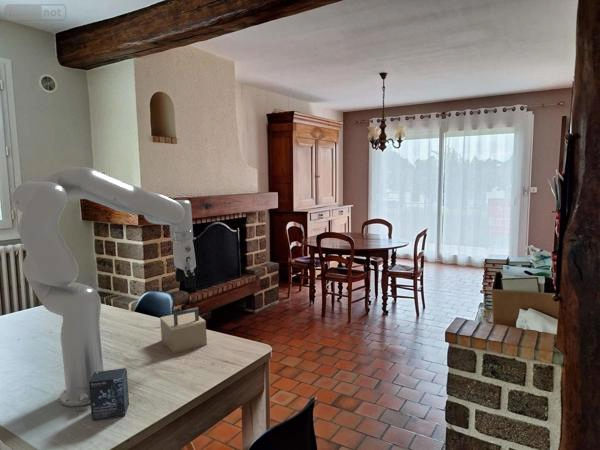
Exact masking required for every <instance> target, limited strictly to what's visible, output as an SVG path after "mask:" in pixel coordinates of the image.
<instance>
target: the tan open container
mask: <svg viewBox="0 0 600 450" xmlns="http://www.w3.org/2000/svg"><path fill="white" fill-rule="evenodd" d="M159 320H160V319H159ZM159 323H160V332H161V333H160V335H161V342H162V343H163V344H165V346H166V347H167V348H168V349H169V351H171V353H172V354H173V355H174V354H179V353H181V352H184V351H189V350H192V349H197V348H199V347H204V346H206V345H208V342H207V340H208V339H207V324H206V323H207V322H206V323H204V324H200V325H195V326H191V327H187V328H183V329H179V330H174V331H172V330H171V329H170V328H169V327H167V326H166V325H165V324H164V323H163V322H162V321H161V320H160V321H159Z"/></svg>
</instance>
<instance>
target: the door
mask: <svg viewBox="0 0 600 450" xmlns="http://www.w3.org/2000/svg"><path fill="white" fill-rule="evenodd" d="M199 312H200V311H199V307H198V306H197V307H193V308H187V309H182V310H179V311H173V313H172V314H169V315H164V316H161V317H160V316H159V317H160V318H159V320H161V321H162V322H163V323H164V324H165V325H166V326H167V327H169V328H170V329H171V330H172V331H174V330H179V329H183V328H187V327H191V326H195V325H200V324H204V323H207V321H206V320H205V319H204V318H202V317H201V316H200V314H199Z"/></svg>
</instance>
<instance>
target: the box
mask: <svg viewBox="0 0 600 450" xmlns="http://www.w3.org/2000/svg"><path fill="white" fill-rule="evenodd" d="M128 383H129V382H128V371H127V368H126V367H125V368H117V369H109V370H108V369H107V370H103V371H96V372H94V374H93V376H92V377H91V379H90V381H89V388H90V401H91V403H90V411H91V421H97V420H106V419H111V418H112V419H113V418H121V417H122V418H123V417H125V416H126V414H127V412H128V408H129V406H130V399H129V384H128Z"/></svg>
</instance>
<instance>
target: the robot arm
mask: <svg viewBox="0 0 600 450" xmlns="http://www.w3.org/2000/svg"><path fill="white" fill-rule="evenodd" d="M12 192H13V193H12V195H11V200H12V203H13V206H14V207H15V208H16V209H17V210H18V211H20V212H22V213H21V216H20V217H19V218H20V220H19V224H18V234H19V239H20V241H21V243H22V245H23V247H24V249H25V251H26V253H27V255H26V256H25V258H24V259H23V262H22V272H23V275H24V277H25V279H26V281H27V282H28V284H29V287H31V289H32V291H33V292H34V294H35V295H36V297H37V299H38V300H39V301H40V303H41V304H42V306H43V308H45V309H46V310H47V311H48V312H50V313H52V314H54V315H58V316H60V317H61V318H62V324H61V330H60V345H61V351H62V352H61V353H62V362H63V364H62V365H63V372H64V381H65V389H64V390H63V391H62V392H61V394H60V396H59V398H60V399H59V400H60V402H61V403H60V404H62V405H64V406H67V407H80V406H86V405H89V404H90V405H91V401H90V388H89V381H90V379H91V377H92V376H93V374H94V372H96V371H104V361H103V350H102V348H103V347H102V338H101V325H100V324H101V322H100V321H101V320H100V318H101V310H102V300H101V296H100V294H99V293H98V290H96V289H95V288H94V287H92V286H90V285H88V284H87V285H86V284H84V283H79V282H75V281H76V280H77V278H78V276H79V273H80V272H79V271H80V269H79V264H78V261H77V260H76V259H75V256H74V255H73V253H72V252H71V250H70V249H71V248H69V246H68V244H67V242H66V241H65V239H64V236H63V234H62V232H61V230H60V220H61V216H62V214H63V212H64V211H65V209H66V207H67V204H68V200H71V199H73V198H80V199H81V198H82V199H85V200H88V201H91V202H93V203H96V204H99V205H101V206H104V207H107V208H109V209H111V210H115V211H118V212H121V213H127V214H133V215H134V214H135V215H140V216H141V215H142V216H143V217H144V219H145V220H146V221H147V222H148V223H150V224H153V225H165V226H169V234H170V235H169V236H170V242H172V254H173V255H172V256H173V257H172V258H173V263H174V271H175V273H174V274H175V281H176V283H180V282H184V286H185V289H190V288H195V286H196V284H195V283H196V282H195V281H196V280H195V269H196V267H197V263H196V253H195V247H194V242H193V240H194V230H193V228H194V227H193V213H192V203H191V202H190V200H188V199H175V200H174V199H173V198H169V197H168V196H165V195H163V194H160V193H158V192H154V191H151V190H148V189H144V188H141V187H139V186H135V185H132V184H129V183H126V182H124V181H122V180H120V179H118V178H116V177H113V176H111V175H109V174H107V173H105V172H102V171H100V170H97V169H95V168H91V167H87V166H77V167H76V166H75V167H74V166H73V167H66V168H63V169H60V170H57V171H55V172H51V173H48V174H45V175H42V176H40V177H37V178H33V179H31V180H28V181H24V182H23V183H21V184H19V185H17V186H16V187H15V188H14V190H13V191H12Z"/></svg>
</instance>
